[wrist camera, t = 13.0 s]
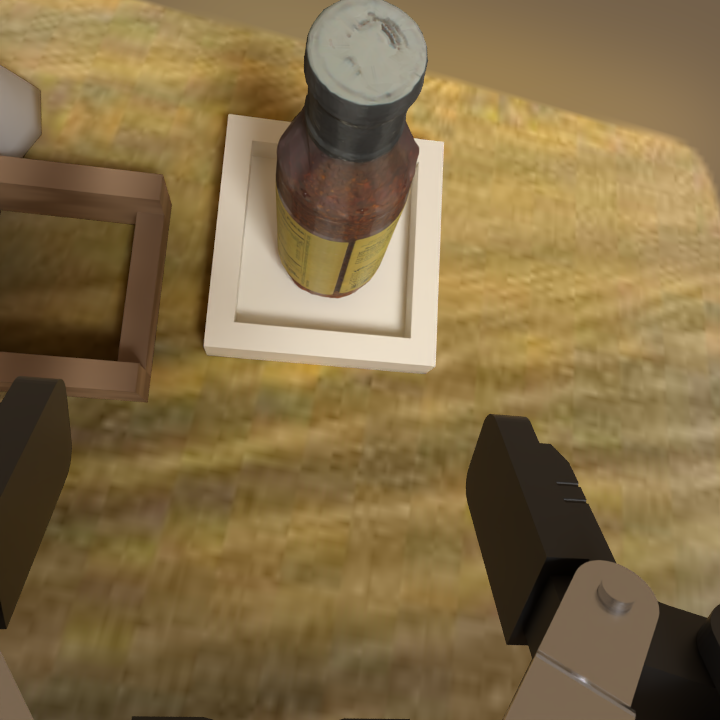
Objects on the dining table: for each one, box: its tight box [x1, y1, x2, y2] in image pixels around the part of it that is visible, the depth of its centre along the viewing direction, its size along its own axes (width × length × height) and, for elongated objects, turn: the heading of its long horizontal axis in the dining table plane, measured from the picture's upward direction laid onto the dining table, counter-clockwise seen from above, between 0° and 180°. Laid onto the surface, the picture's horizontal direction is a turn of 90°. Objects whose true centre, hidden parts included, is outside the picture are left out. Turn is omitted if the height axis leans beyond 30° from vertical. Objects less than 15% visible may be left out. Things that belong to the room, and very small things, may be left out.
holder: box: [0, 156, 172, 402], centre depth 37 cm, size 11×12×4 cm
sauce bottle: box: [276, 0, 428, 298], centre depth 32 cm, size 7×6×20 cm
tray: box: [204, 114, 444, 374], centre depth 41 cm, size 13×14×2 cm
